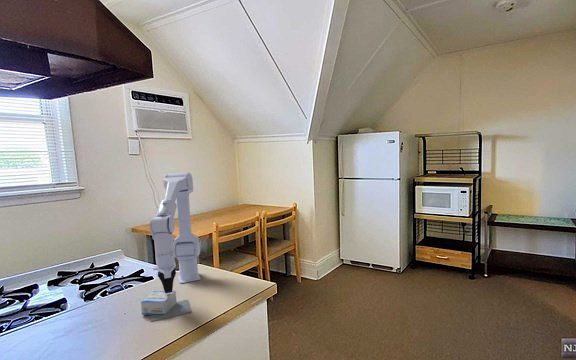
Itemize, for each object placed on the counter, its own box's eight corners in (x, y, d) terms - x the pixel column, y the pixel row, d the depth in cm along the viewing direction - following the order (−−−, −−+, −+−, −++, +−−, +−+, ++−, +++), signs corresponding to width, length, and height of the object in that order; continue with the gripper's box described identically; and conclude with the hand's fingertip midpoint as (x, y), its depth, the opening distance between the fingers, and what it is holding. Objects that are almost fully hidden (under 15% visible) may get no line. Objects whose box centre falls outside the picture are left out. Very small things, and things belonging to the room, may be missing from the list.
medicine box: (176, 290, 112) (163, 301, 103) (177, 302, 112) (165, 315, 103) (154, 290, 113) (140, 301, 104) (155, 303, 113) (141, 315, 104)
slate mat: (150, 308, 109) (150, 307, 109) (187, 300, 114) (187, 299, 114) (150, 321, 100) (150, 320, 100) (191, 312, 105) (191, 311, 105)
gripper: (151, 248, 113) (155, 287, 114) (152, 260, 99) (156, 303, 100) (173, 245, 115) (176, 282, 116) (176, 256, 102) (180, 298, 103)
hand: (168, 292), depth 109 cm, fingers closed
